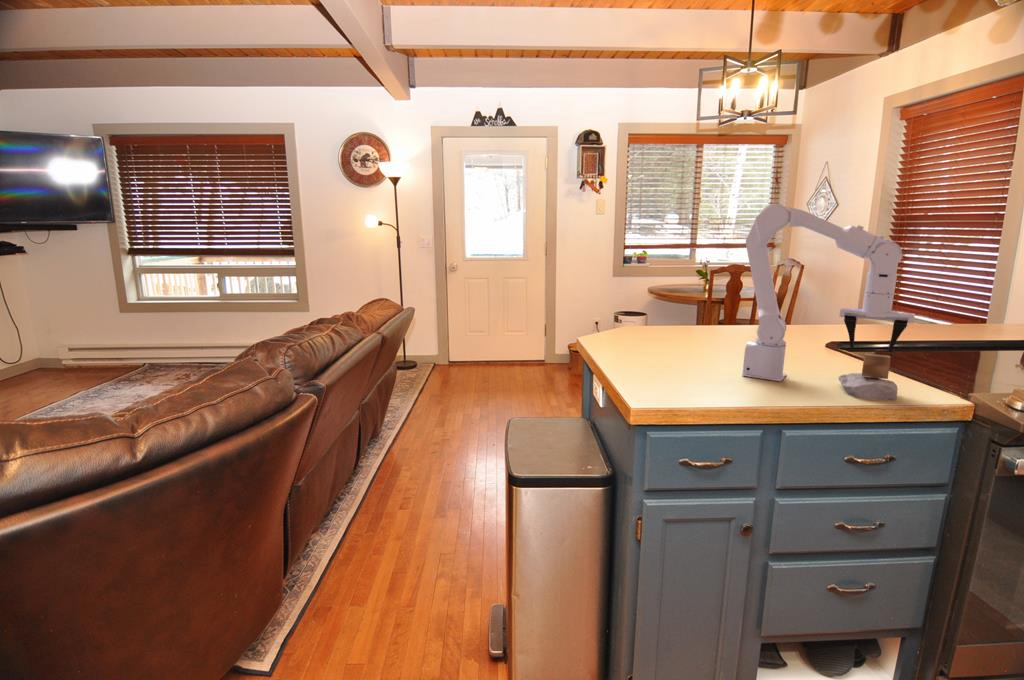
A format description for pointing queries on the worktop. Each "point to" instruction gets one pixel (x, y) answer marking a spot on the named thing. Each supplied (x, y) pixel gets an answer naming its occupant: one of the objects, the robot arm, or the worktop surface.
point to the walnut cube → (876, 366)
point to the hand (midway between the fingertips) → (870, 349)
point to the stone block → (868, 387)
